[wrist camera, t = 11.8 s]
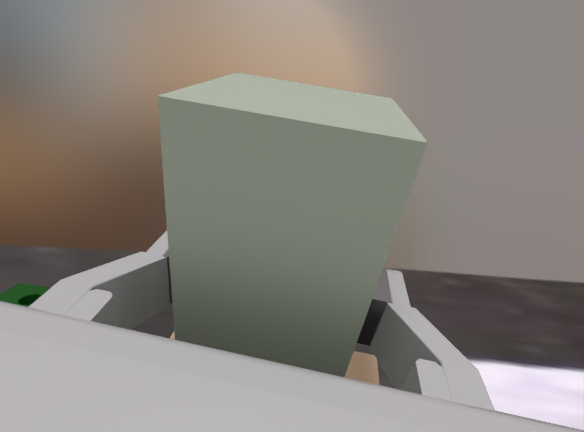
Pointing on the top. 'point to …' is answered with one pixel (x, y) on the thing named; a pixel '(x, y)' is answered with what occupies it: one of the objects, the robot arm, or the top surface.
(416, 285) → the top surface
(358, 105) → the peg
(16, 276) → the top surface
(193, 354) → the robot arm
